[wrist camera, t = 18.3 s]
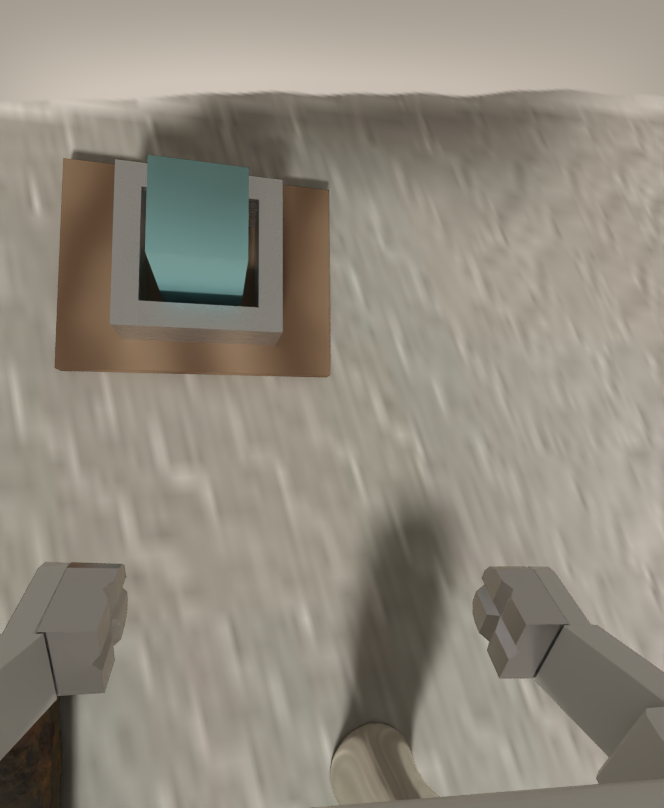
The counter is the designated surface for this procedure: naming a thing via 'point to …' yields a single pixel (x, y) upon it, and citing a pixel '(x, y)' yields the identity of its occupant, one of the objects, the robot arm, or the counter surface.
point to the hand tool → (34, 766)
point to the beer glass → (376, 768)
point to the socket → (189, 320)
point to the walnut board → (91, 295)
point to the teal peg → (197, 230)
